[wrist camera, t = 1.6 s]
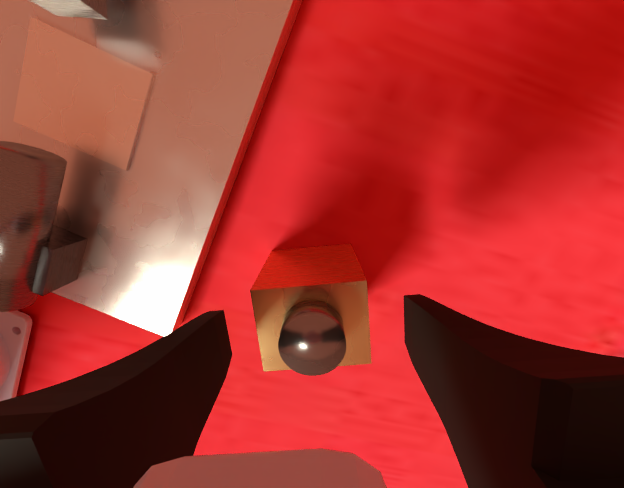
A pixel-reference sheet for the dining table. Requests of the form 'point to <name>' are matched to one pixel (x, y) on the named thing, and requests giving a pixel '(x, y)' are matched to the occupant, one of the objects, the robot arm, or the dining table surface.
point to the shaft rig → (125, 144)
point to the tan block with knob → (312, 310)
